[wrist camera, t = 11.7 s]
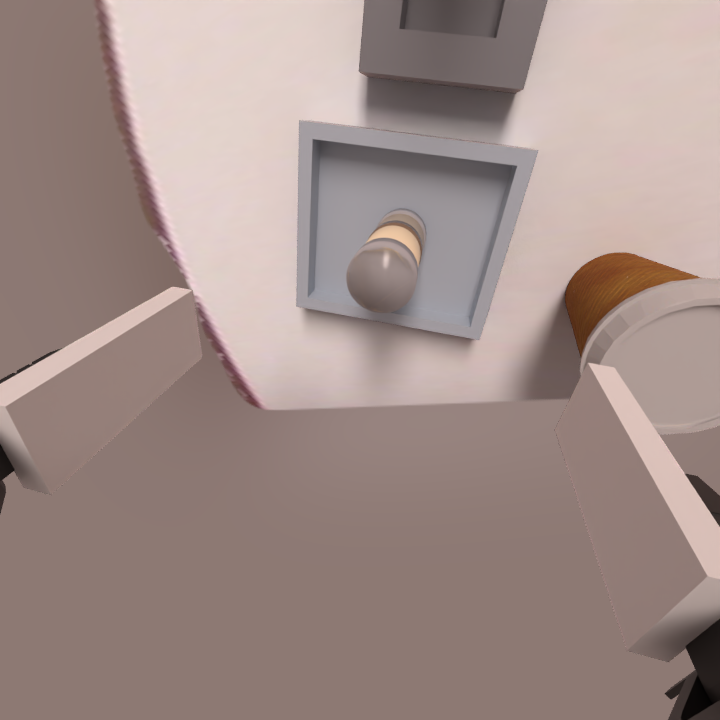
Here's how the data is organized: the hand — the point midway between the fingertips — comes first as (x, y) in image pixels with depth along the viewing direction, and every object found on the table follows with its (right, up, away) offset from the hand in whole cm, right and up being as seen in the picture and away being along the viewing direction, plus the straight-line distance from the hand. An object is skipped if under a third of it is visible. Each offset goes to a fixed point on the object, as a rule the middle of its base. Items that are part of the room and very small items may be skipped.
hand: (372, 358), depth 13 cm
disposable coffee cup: (+19, +6, +18) cm, 27 cm away
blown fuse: (+3, +10, +18) cm, 21 cm away
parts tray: (+3, +10, +18) cm, 21 cm away
